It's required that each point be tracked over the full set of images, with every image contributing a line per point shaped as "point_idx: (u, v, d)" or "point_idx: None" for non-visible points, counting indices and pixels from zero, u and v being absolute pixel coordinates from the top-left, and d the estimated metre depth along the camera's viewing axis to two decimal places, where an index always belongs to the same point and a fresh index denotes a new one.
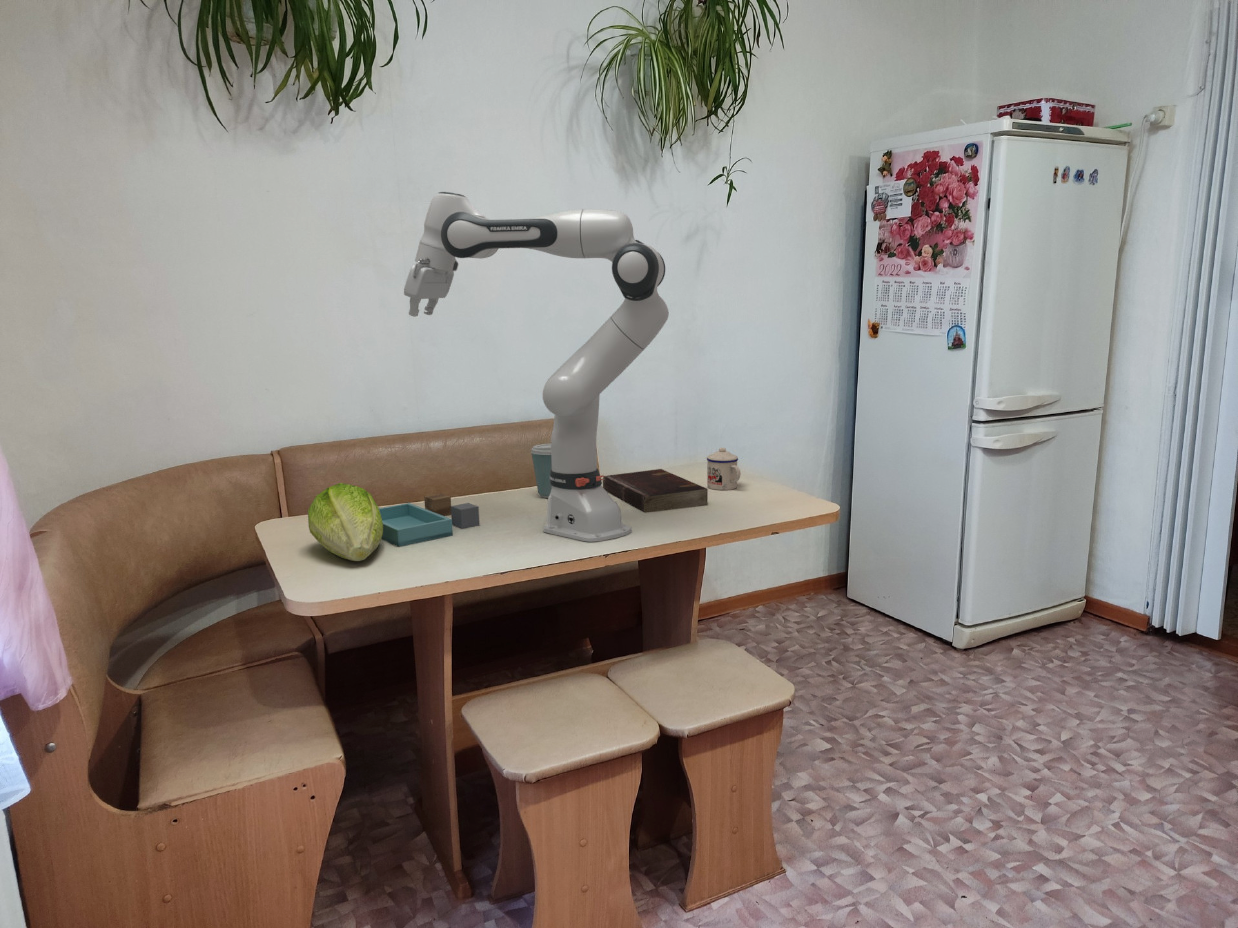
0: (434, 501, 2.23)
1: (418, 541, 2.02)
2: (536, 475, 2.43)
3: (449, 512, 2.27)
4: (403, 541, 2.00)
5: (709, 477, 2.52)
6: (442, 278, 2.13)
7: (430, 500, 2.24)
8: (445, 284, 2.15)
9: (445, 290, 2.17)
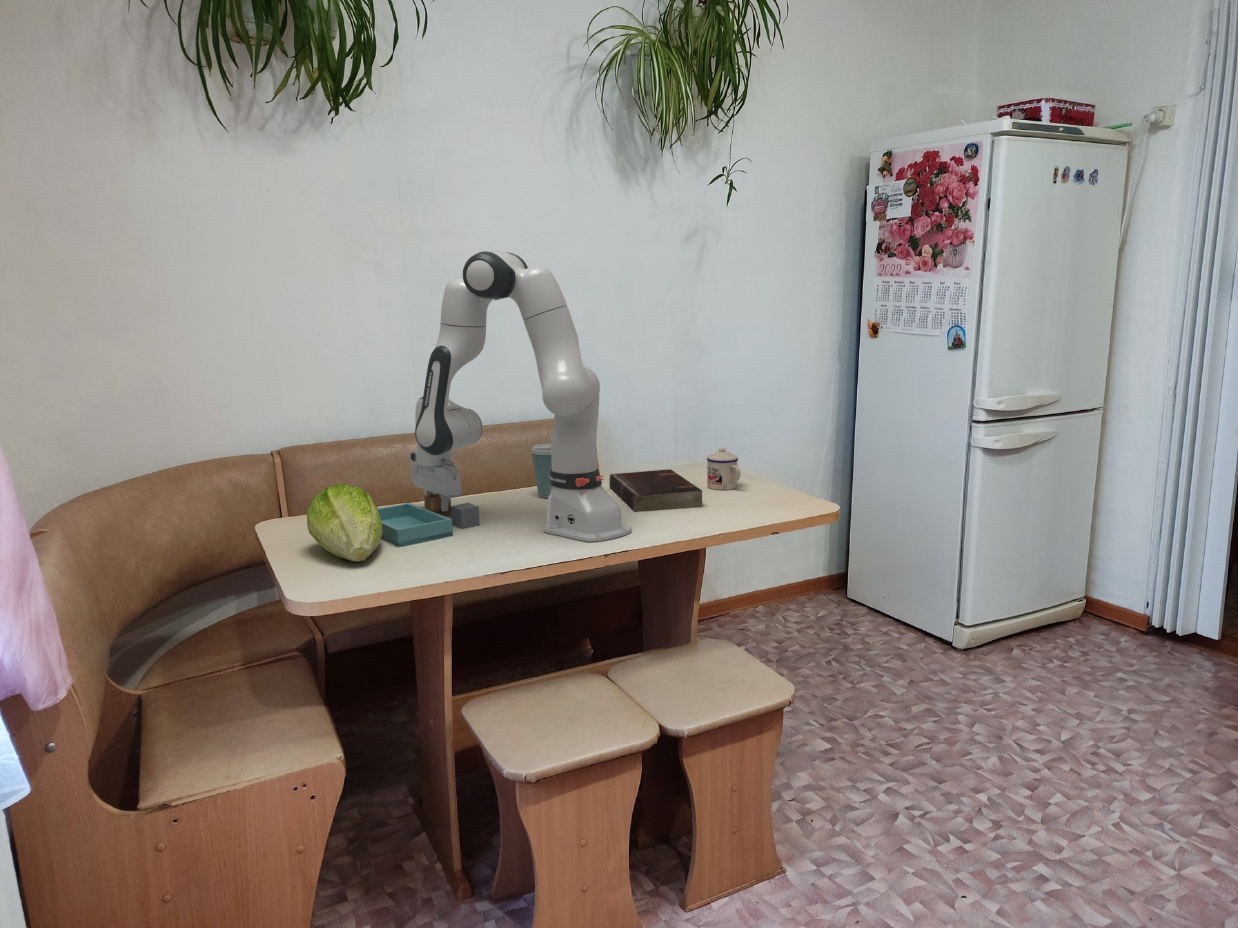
0: (434, 500, 2.23)
1: (418, 541, 2.02)
2: (536, 475, 2.43)
3: (449, 512, 2.27)
4: (403, 541, 2.00)
5: (709, 477, 2.52)
6: None
7: (430, 500, 2.24)
8: None
9: None
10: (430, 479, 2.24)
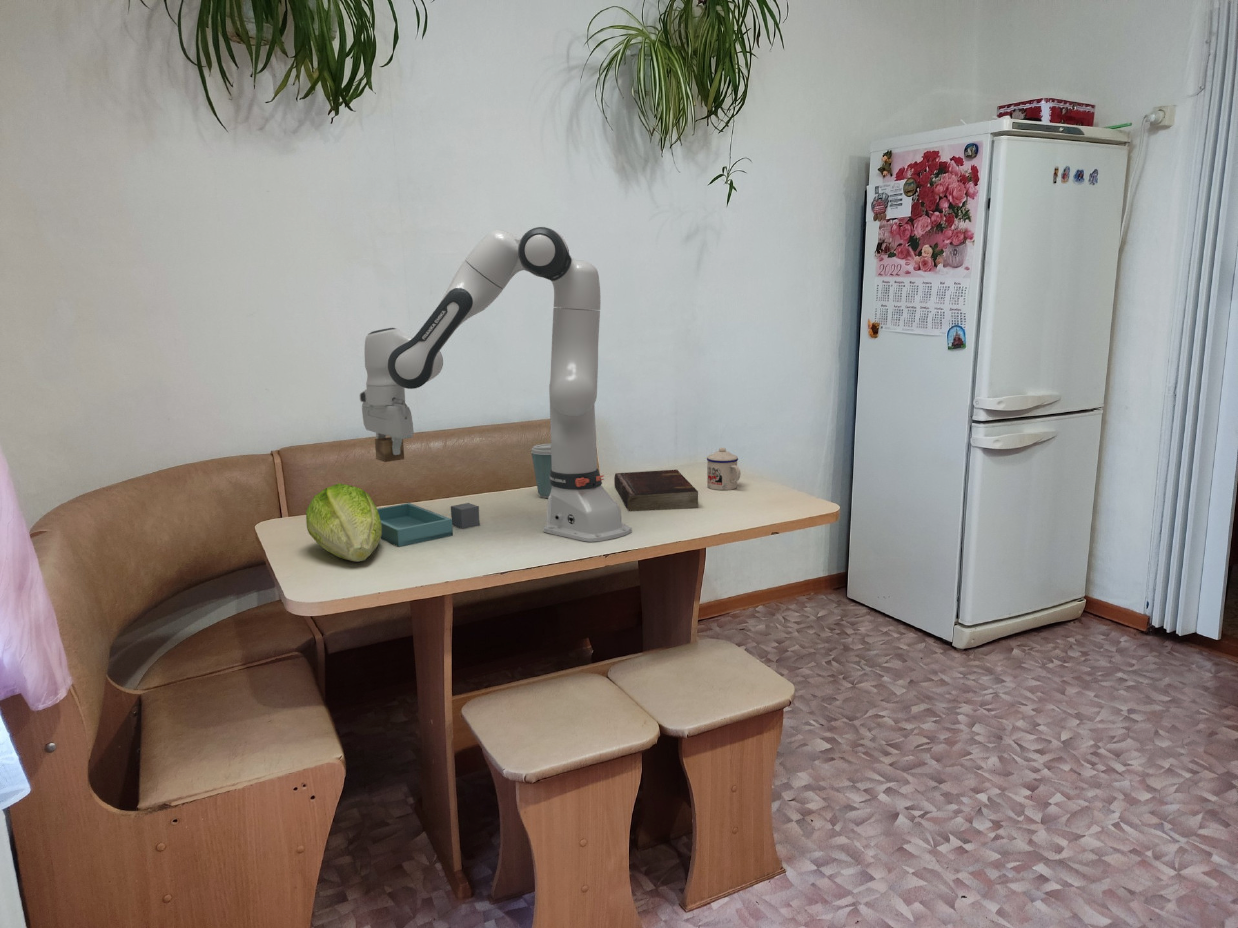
0: (385, 443, 2.08)
1: (418, 541, 2.02)
2: (536, 475, 2.43)
3: (401, 456, 2.12)
4: (403, 541, 2.00)
5: (709, 477, 2.52)
6: None
7: (381, 442, 2.09)
8: None
9: None
10: (381, 420, 2.09)
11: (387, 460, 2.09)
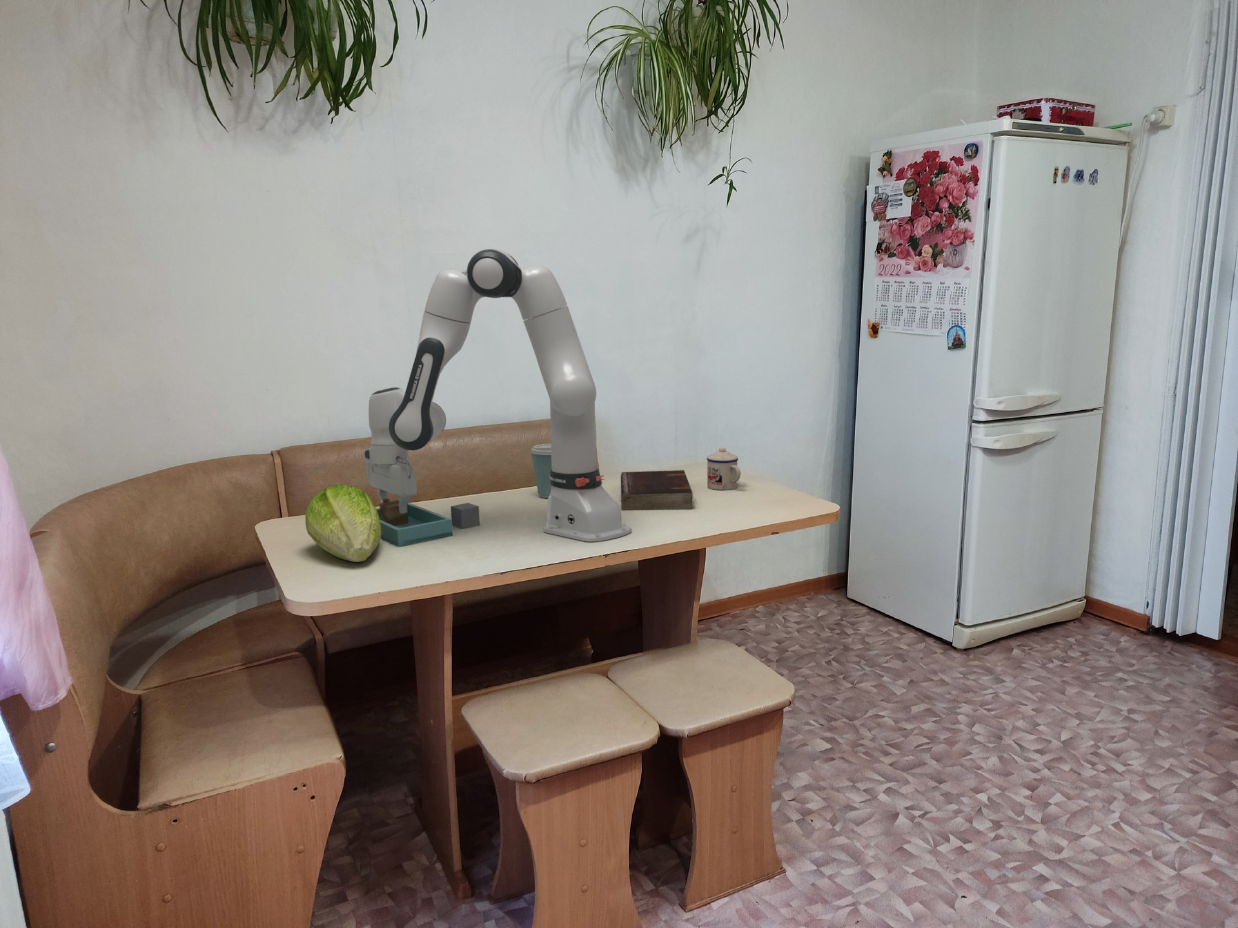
0: (390, 508, 2.12)
1: (418, 541, 2.02)
2: (536, 475, 2.43)
3: (406, 520, 2.15)
4: (403, 541, 2.00)
5: (709, 477, 2.52)
6: None
7: (385, 507, 2.13)
8: None
9: None
10: (385, 478, 2.12)
11: None
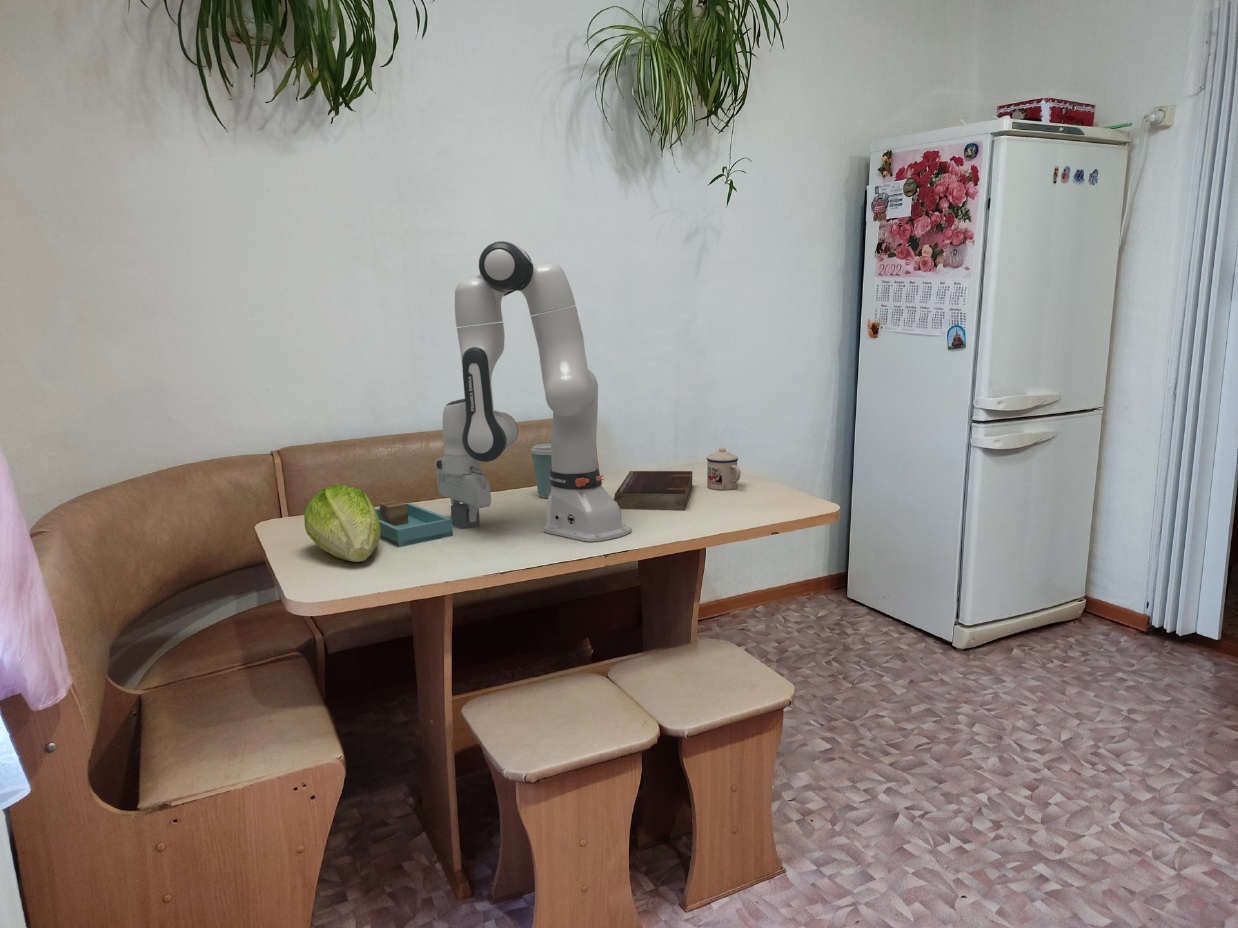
0: (390, 508, 2.12)
1: (418, 541, 2.02)
2: (536, 475, 2.43)
3: (406, 520, 2.15)
4: (403, 541, 2.00)
5: (709, 477, 2.52)
6: None
7: (385, 507, 2.13)
8: None
9: None
10: (457, 488, 2.14)
11: None
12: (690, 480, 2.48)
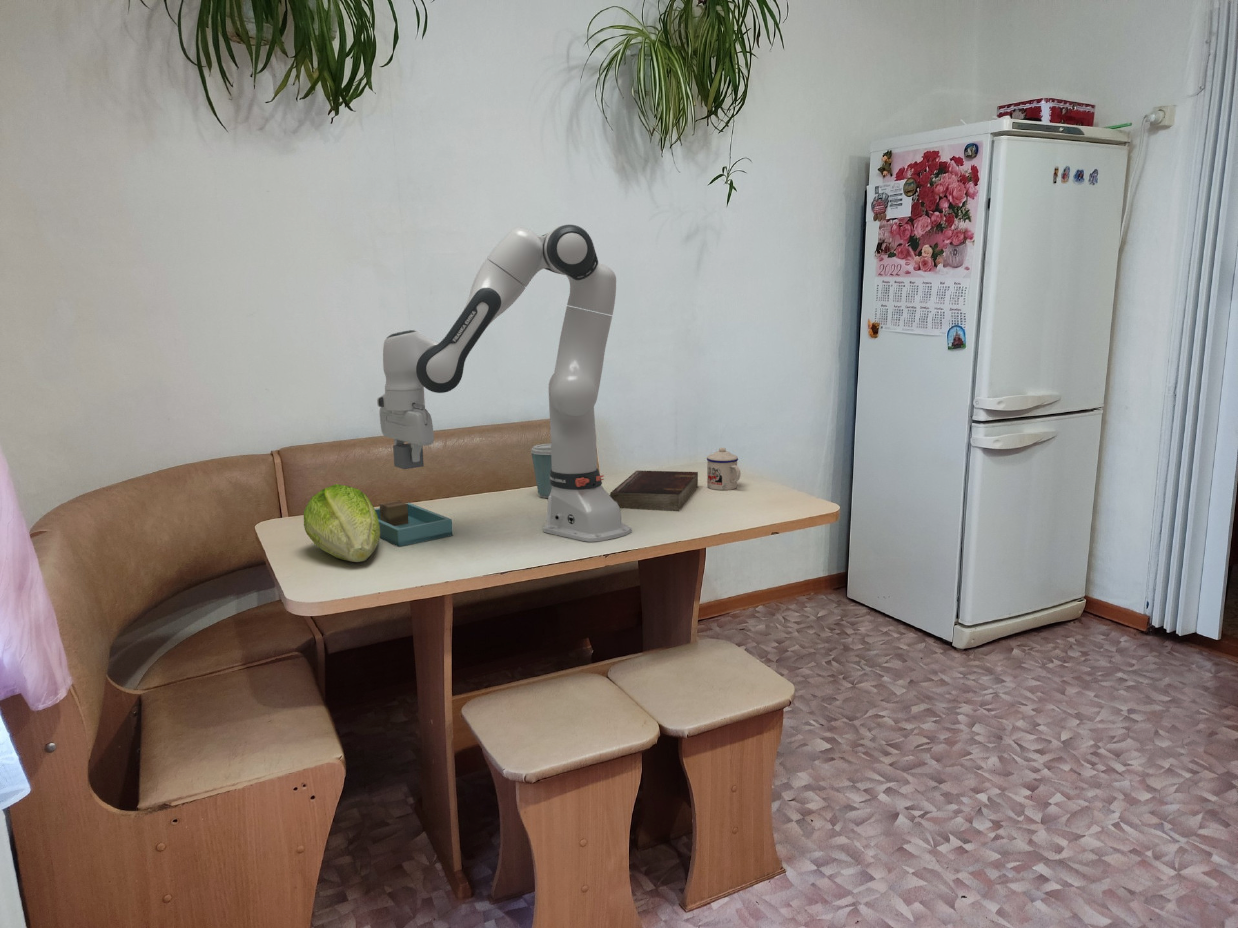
0: (390, 508, 2.12)
1: (418, 541, 2.02)
2: (536, 475, 2.43)
3: (406, 520, 2.15)
4: (403, 541, 2.00)
5: (709, 477, 2.52)
6: None
7: (385, 507, 2.13)
8: None
9: None
10: (400, 426, 2.02)
11: None
12: (693, 481, 2.47)
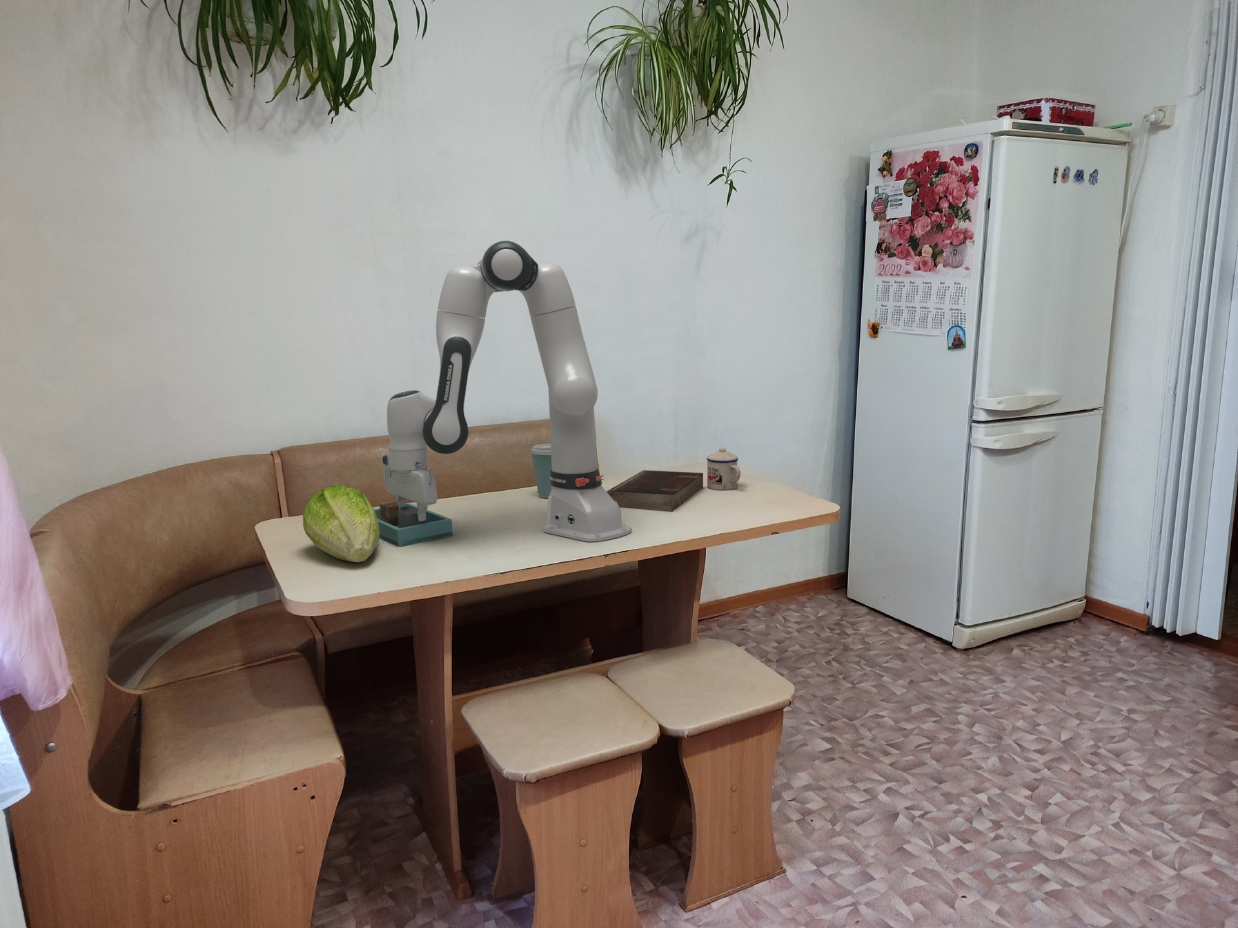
0: (390, 508, 2.12)
1: (418, 541, 2.02)
2: (536, 475, 2.43)
3: None
4: (403, 541, 2.00)
5: (709, 477, 2.52)
6: None
7: (385, 507, 2.13)
8: None
9: None
10: (403, 485, 2.05)
11: None
12: (695, 482, 2.46)
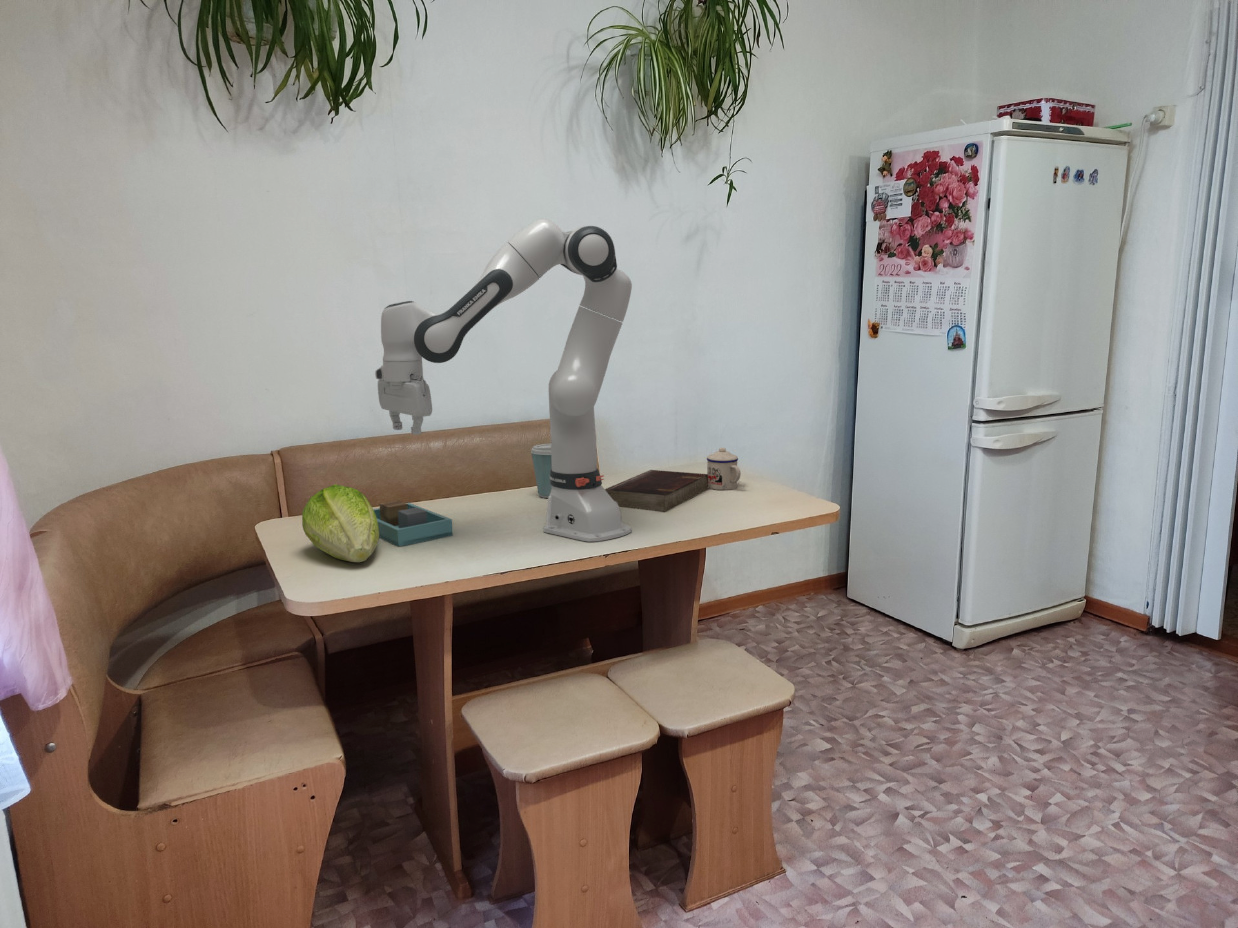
0: (390, 508, 2.12)
1: (418, 541, 2.02)
2: (536, 475, 2.43)
3: None
4: (403, 541, 2.00)
5: (709, 477, 2.52)
6: None
7: (385, 507, 2.13)
8: None
9: None
10: (398, 398, 2.01)
11: None
12: (697, 483, 2.45)
